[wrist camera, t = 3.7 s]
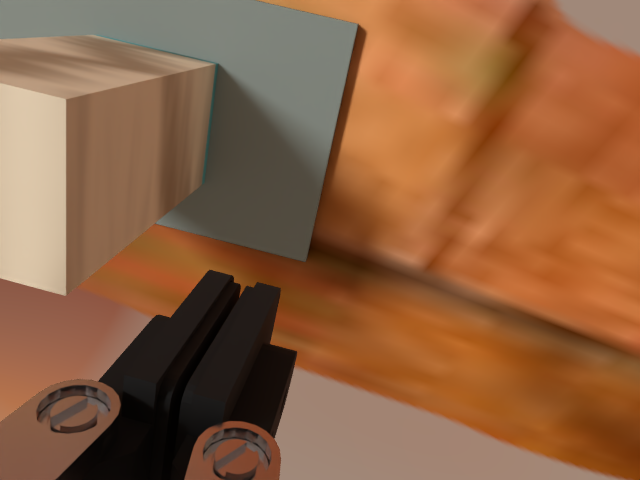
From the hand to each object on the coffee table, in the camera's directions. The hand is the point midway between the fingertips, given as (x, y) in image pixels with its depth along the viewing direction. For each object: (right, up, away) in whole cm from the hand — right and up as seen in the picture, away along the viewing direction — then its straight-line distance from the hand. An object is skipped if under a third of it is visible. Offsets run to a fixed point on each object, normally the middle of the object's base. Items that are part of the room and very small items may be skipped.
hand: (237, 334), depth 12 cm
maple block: (-6, +9, +14) cm, 17 cm away
